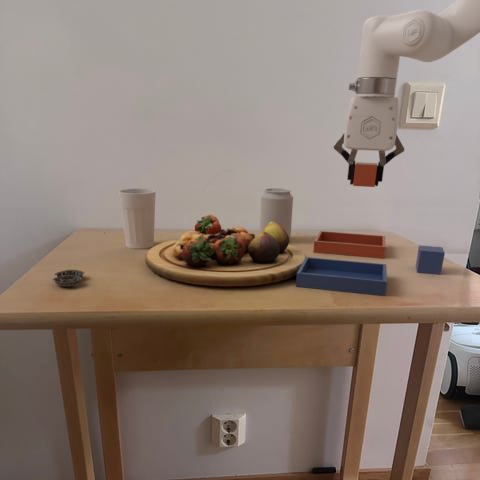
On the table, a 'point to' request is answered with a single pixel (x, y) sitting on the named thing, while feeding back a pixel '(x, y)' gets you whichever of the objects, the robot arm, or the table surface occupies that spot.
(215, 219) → the wooden plate
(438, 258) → the blue block
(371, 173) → the terracotta block
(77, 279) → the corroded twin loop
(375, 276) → the blue tray
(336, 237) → the terracotta tray
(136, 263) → the table surface
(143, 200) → the cup
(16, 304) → the table surface
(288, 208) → the can
